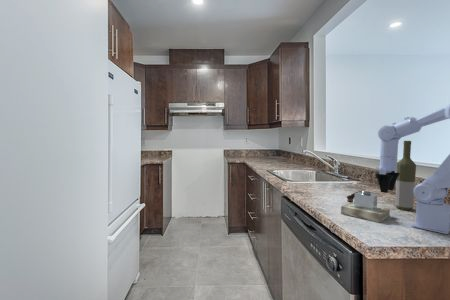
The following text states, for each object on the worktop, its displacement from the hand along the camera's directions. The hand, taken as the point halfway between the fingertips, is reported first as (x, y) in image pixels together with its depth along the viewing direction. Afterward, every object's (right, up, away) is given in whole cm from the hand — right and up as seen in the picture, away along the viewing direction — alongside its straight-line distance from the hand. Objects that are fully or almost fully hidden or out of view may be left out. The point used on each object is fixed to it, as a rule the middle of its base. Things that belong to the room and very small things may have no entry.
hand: (387, 191), depth 101 cm
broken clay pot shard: (-2, -10, +15) cm, 18 cm away
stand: (-8, -10, +1) cm, 13 cm away
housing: (-8, -6, +1) cm, 10 cm away
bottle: (+15, -10, +12) cm, 22 cm away
